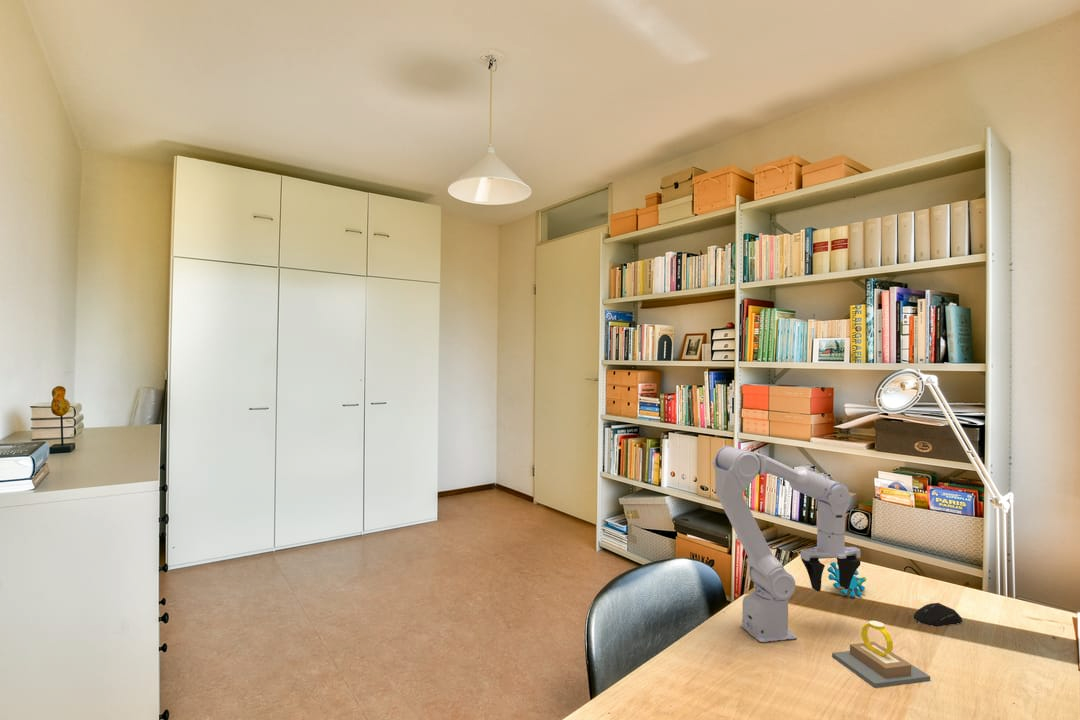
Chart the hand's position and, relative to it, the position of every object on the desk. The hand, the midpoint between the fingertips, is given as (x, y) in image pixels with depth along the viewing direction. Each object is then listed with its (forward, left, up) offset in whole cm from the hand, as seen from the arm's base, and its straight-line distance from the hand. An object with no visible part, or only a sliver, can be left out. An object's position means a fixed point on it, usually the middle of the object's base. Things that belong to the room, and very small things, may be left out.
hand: (830, 588), depth 124 cm
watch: (-2, -15, -7) cm, 17 cm away
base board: (-2, -16, -9) cm, 19 cm away
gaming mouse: (+29, -1, -10) cm, 31 cm away
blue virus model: (+20, +17, -10) cm, 28 cm away
